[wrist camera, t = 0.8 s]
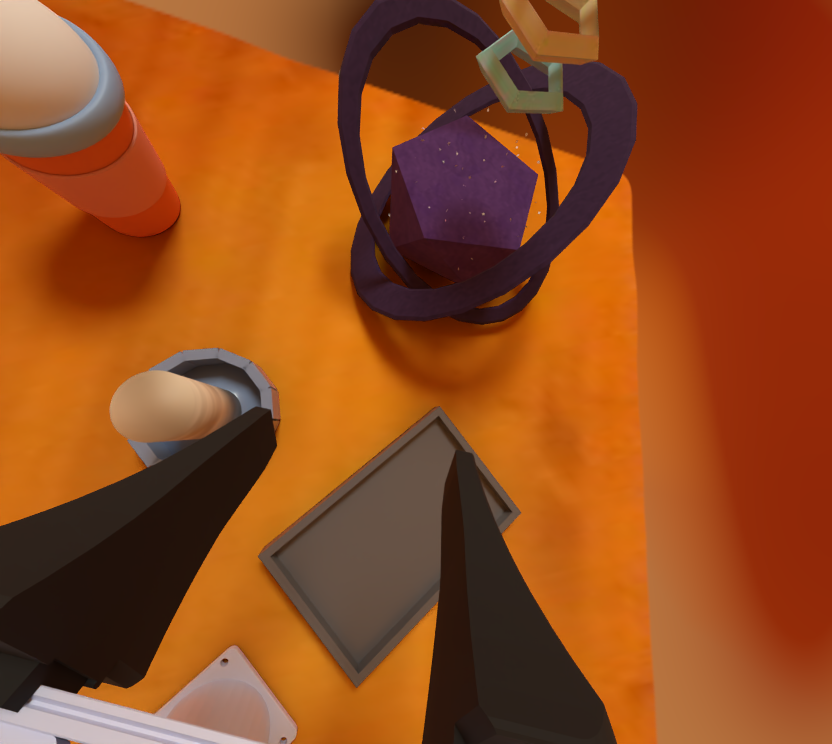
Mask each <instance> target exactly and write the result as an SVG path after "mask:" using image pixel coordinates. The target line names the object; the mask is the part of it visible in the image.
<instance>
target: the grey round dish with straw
mask: <svg viewBox="0 0 832 744" xmlns="http://www.w3.org/2000/svg"><path fill="white" fill-rule="evenodd" d="M0 154H1V155H2V156H3V157H5V158H6V159H7V160H9V161H10V162H11V163H13V164H14V165H16V166H17V167H18V168H20V169H21V170H23V171H24V172H26V173H27V174H29V175H30V176H32V177H33V178H35V179H36V180H37V181H39V182H40V183H42V184H43V185H45V186H46V187H48V188H49V189H51V190H52V191H54V192H55V193H57V194H58V195H59V196H61V197H62V198H64V199H65V200H67V201H68V202H70V203H71V204H73V205H74V206H76V207H77V208H79V209H81V210H83V211H85V212H87V213H90V214H92V215H93V216H94V217H96V218H97V219H99V220H100V221H102V222H103V223H105V224H106V225H108V226H109V227H111V228H112V229H114V230H116V231H118V232H120V233H122V234H125V235H129V236H136V237H146V236H152V235H156V234H159V233H161V232H163V231H165V230H167V229H168V228H169V227H171V226H172V225H173V224H174V222H175V221H176V220H177V218H178V216H179V213H180V200H179V197H178V195H177V193H176V191H175V189H174V187H173V186H172V184H171V182H170V180H169V179H168V177H167V175H166V171H165V168H164V166H163V164H162V162H161V160H160V158H159V157H158V155H157V153H156V151H155V150H154V148H153V146H152V144H151V143H150V141H149V139H148V137H147V136H146V134H145V132H144V130H143V129H142V127H141V125H140V123H139V122H138V120H137V118H136V116H135V115H134V113H133V111H132V109H131V108H130V106H129V105H128V104H127V102H126V101H125V93H124V87H123V83H122V80H121V78H120V75H119V73H118V71H117V69H116V67H115V65H114V64H113V62H112V61H111V59H110V58H109V56H108V55H107V54H106V53H105V52H104V50H103V49H102V48H101V47H100V46H99V45H98V44H97V43H96V42H95V41H94V40H93V39H92V38H91V37H90V36H89V35H88V34H87V33H85V32H84V31H83V30H81V29H80V28H79V27H77V26H76V25H74V24H73V23H71V22H69V21H68V20H66V19H64V18H62V17H60V16H58V15H56V14H55V13H54V12H52V11H51V10H50V9H49V8H47V7H46V6H44V5H43V4H42V3H40V2H39V1H37V0H0Z"/></svg>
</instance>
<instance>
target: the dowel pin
mask: <svg viewBox="0 0 832 744" xmlns="http://www.w3.org/2000/svg"><path fill="white" fill-rule="evenodd" d="M241 414H242V408H241V404H240V401H239V400H238V398H237V397H236V396H235V395H234V394H233V393H231V392H230V391H228V390H225V389H222V388H218V387H215V386H212V385H209V384H206V383H203V382H199V381H196V380H193V379H190V378H187V377H183V376H180V375H177V374H174V373H171V372H167V371H160V370H154V371H146V372H143V373H140V374H137V375H135V376H133V377H131V378H129V379H128V380H126V381H125V382H124V383H123V384H122V385H121V386H120V387H119V388H118V389H117V391H116V392H115V394H114V396H113V398H112V400H111V404H110V418H111V421H112V424H113V425H114V427H115V429H116V430H117V431H118V432H119V433H120V434H121V435H123V436H124V437H126V438H128V439H130V440H133V441H136V442H142V443H151V442H165V441H179V440H193V439H202V438H204V437H206V436H207V435H209V434H211V433H212V432H214V431H216V430H217V429H219V428H221V427H222V426H224V425H226V424H227V423H229V422H231V421H232V420H234V419H235V418H237V417H239V416H240V415H241Z"/></svg>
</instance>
